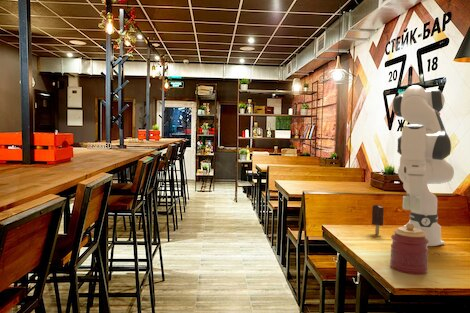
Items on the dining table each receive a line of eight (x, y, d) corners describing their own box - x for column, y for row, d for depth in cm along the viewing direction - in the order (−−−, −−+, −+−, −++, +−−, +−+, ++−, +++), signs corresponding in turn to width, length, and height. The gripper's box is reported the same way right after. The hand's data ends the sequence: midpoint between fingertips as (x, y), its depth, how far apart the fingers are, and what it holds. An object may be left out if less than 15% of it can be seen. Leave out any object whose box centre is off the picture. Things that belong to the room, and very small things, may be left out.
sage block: (402, 207, 147) (402, 195, 147) (418, 208, 145) (418, 196, 145) (403, 209, 143) (404, 197, 143) (420, 210, 142) (420, 198, 141)
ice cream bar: (382, 234, 196) (383, 205, 195) (382, 235, 195) (383, 205, 194) (371, 233, 199) (372, 204, 198) (371, 233, 197) (372, 204, 196)
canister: (432, 277, 138) (434, 228, 137) (394, 274, 140) (396, 226, 139) (421, 264, 151) (423, 220, 150) (386, 262, 153) (388, 218, 152)
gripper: (400, 165, 154) (398, 199, 155) (407, 169, 135) (405, 209, 136) (417, 166, 152) (415, 200, 153) (427, 170, 133) (425, 210, 134)
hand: (411, 204), depth 144 cm, fingers closed on sage block, 4 cm apart
